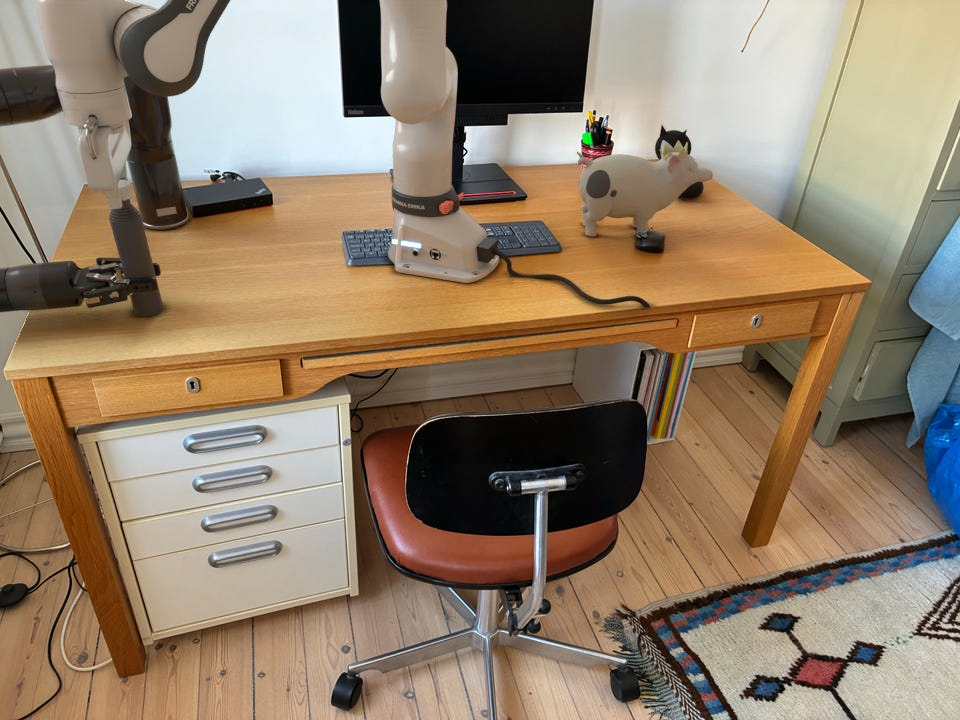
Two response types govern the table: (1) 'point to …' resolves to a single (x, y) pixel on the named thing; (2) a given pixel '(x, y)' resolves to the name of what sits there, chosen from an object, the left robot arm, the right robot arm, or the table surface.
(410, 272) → the right robot arm
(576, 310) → the table surface
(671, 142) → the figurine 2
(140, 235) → the bottle
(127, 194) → the cap
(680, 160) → the figurine
